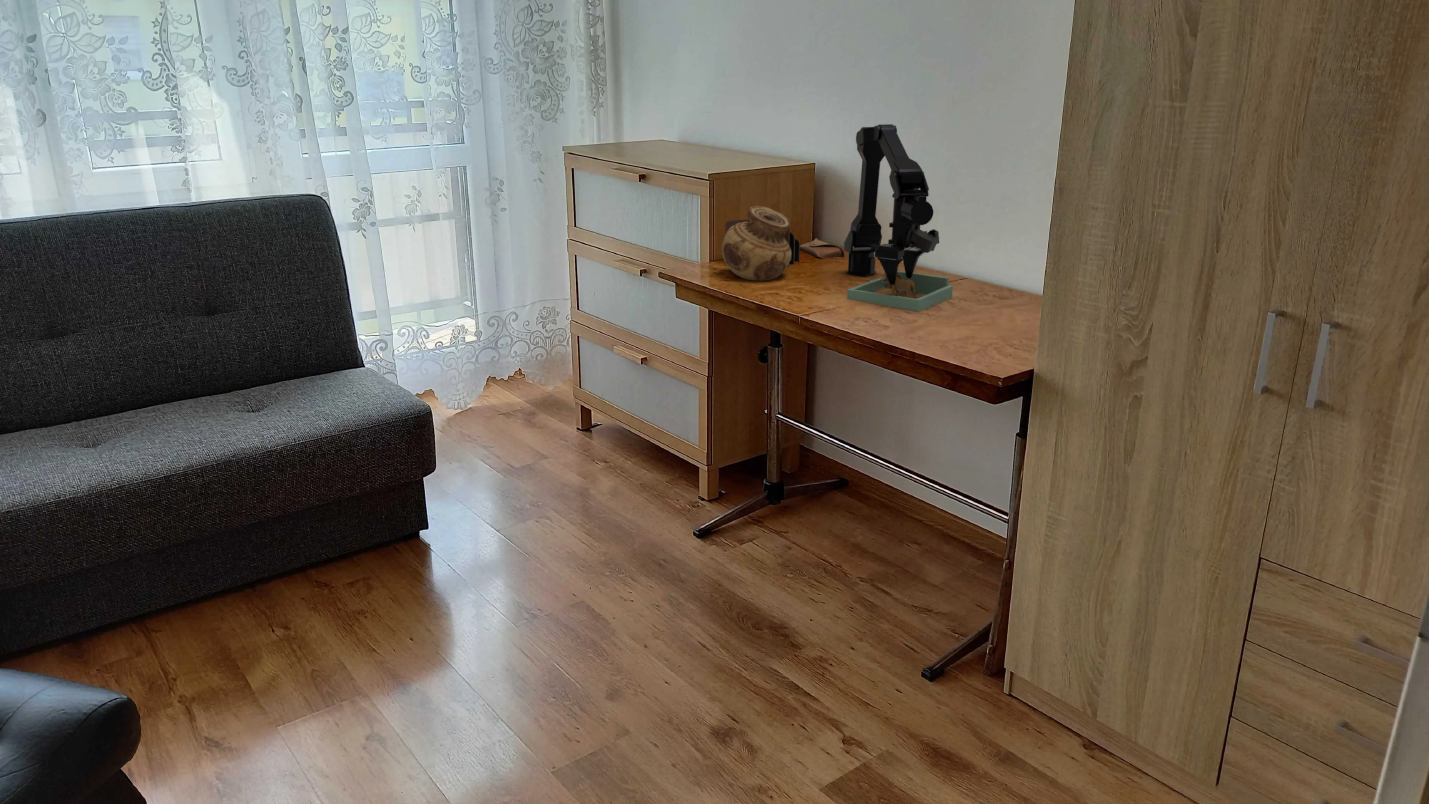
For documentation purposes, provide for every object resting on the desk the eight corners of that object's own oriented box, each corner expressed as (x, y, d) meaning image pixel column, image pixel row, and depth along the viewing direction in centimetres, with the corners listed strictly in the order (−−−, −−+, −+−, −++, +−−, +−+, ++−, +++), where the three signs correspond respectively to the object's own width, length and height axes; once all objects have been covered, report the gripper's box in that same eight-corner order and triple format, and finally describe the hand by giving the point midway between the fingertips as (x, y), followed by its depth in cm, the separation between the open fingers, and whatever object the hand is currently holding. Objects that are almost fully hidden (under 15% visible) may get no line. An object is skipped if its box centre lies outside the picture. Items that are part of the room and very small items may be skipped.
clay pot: (769, 291, 263) (770, 214, 256) (708, 283, 272) (708, 208, 265) (802, 278, 278) (804, 204, 271) (744, 270, 287) (744, 199, 281)
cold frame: (846, 301, 252) (847, 281, 250) (883, 287, 267) (884, 268, 265) (918, 312, 241) (919, 292, 240) (951, 297, 256) (953, 278, 254)
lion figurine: (877, 297, 257) (878, 269, 254) (887, 294, 259) (889, 266, 257) (916, 305, 248) (917, 276, 246) (926, 302, 251) (928, 273, 249)
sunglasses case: (791, 247, 313) (804, 229, 313) (807, 260, 316) (819, 242, 316) (819, 257, 297) (833, 239, 297) (835, 271, 301) (848, 253, 301)
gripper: (918, 227, 236) (913, 292, 241) (951, 217, 250) (946, 279, 255) (875, 222, 242) (872, 286, 247) (910, 213, 256) (906, 273, 261)
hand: (900, 281), depth 253 cm, fingers open, 9 cm apart
